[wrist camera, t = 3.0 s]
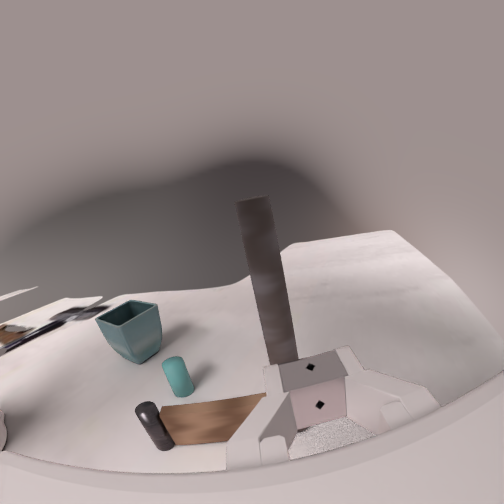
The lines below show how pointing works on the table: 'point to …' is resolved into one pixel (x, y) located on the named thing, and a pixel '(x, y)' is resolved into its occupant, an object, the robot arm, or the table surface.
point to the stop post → (178, 376)
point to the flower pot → (133, 330)
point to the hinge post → (154, 425)
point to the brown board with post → (272, 321)
